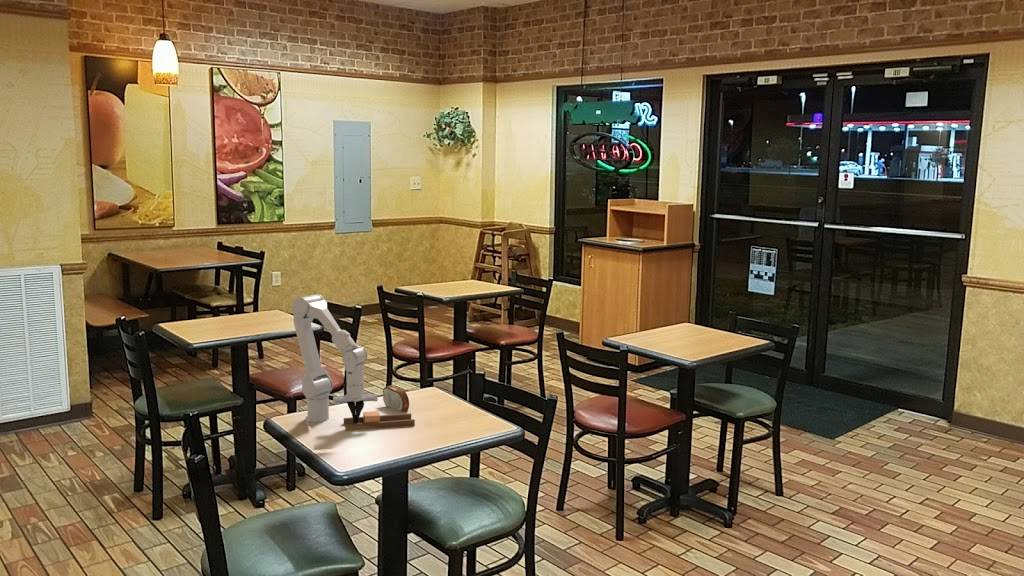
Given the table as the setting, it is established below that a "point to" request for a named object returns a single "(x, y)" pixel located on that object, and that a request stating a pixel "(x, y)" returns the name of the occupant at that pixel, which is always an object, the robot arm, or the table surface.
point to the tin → (395, 398)
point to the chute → (385, 422)
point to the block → (371, 417)
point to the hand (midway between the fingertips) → (355, 422)
